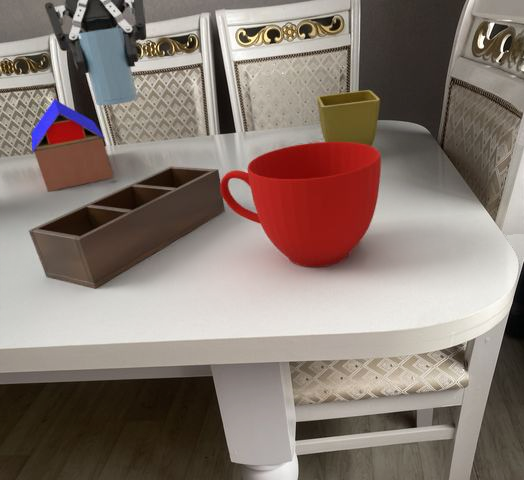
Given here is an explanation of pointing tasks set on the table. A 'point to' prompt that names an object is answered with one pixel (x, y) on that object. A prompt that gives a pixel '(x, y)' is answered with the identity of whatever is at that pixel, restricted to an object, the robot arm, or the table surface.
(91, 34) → the blue cup
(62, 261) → the compartment box
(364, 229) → the ceramic cup
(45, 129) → the house
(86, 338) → the table surface
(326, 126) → the flower pot
